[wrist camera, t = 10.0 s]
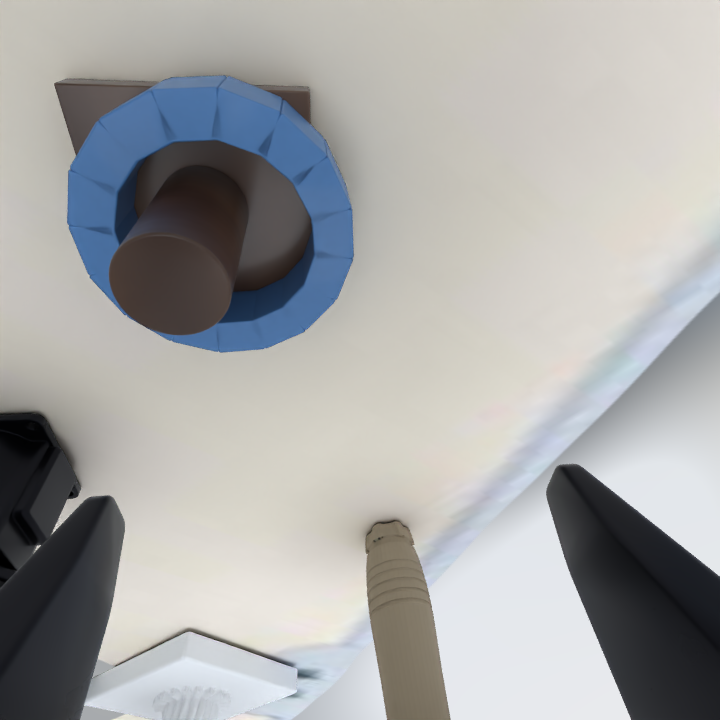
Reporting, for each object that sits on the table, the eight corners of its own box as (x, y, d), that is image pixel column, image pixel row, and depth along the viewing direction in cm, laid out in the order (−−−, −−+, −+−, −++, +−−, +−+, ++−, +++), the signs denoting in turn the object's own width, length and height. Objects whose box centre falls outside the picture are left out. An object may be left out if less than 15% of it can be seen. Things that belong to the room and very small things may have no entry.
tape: (139, 326, 20) (123, 360, 18) (48, 81, 15) (11, 94, 13) (351, 311, 21) (356, 342, 19) (341, 70, 15) (348, 81, 13)
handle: (332, 536, 34) (350, 828, 22) (406, 498, 32) (470, 795, 20) (370, 560, 36) (405, 833, 24) (441, 526, 34) (516, 804, 23)
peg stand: (128, 292, 20) (65, 402, 15) (65, 78, 15) (-63, 124, 10) (313, 289, 21) (319, 392, 16) (309, 86, 16) (315, 133, 11)
